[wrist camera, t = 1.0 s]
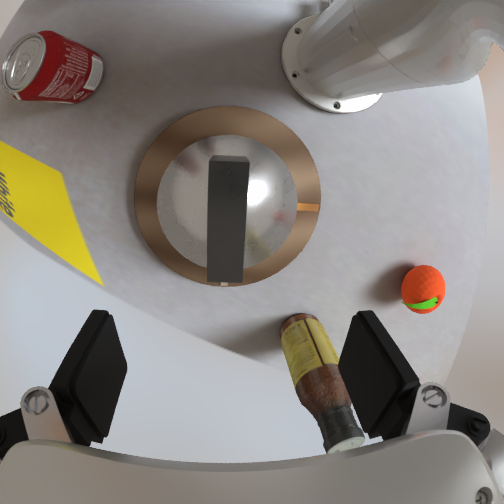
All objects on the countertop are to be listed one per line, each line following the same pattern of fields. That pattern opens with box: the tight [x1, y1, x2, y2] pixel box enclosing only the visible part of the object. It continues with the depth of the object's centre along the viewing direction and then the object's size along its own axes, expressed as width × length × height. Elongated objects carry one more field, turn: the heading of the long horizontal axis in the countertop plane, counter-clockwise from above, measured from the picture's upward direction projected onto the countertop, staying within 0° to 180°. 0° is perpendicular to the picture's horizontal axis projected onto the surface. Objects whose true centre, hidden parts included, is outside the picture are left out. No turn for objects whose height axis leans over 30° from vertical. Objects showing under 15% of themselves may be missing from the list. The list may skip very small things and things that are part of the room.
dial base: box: [134, 106, 321, 287], centre depth 30 cm, size 20×20×2 cm
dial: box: [157, 135, 298, 283], centre depth 25 cm, size 14×14×7 cm
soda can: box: [1, 31, 104, 104], centre depth 17 cm, size 7×7×12 cm
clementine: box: [401, 265, 445, 314], centre depth 34 cm, size 8×7×7 cm
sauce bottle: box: [280, 314, 365, 454], centre depth 30 cm, size 7×6×20 cm
